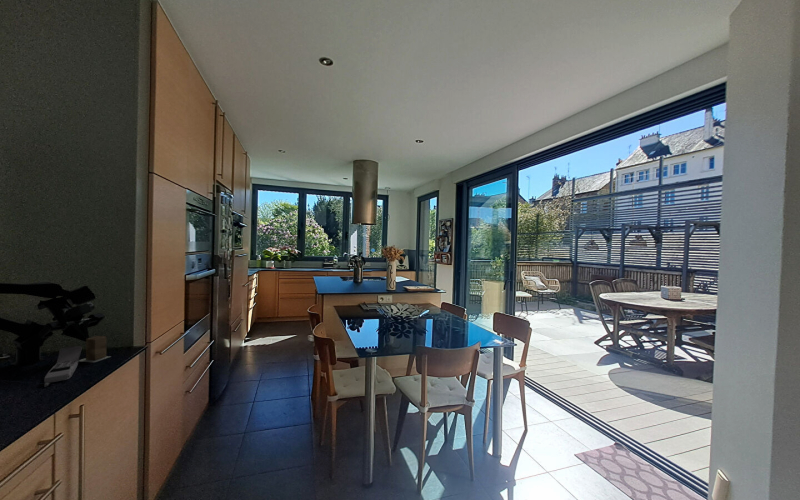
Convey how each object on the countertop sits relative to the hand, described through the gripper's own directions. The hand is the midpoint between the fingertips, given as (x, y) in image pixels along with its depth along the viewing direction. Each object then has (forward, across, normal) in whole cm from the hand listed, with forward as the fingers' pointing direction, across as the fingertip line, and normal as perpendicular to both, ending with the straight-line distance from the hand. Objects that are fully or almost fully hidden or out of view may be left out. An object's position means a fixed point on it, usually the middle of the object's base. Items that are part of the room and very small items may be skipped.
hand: (87, 340), depth 118 cm
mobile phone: (+9, -12, +2) cm, 15 cm away
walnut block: (+8, 0, +2) cm, 8 cm away
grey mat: (+8, 0, +2) cm, 8 cm away
